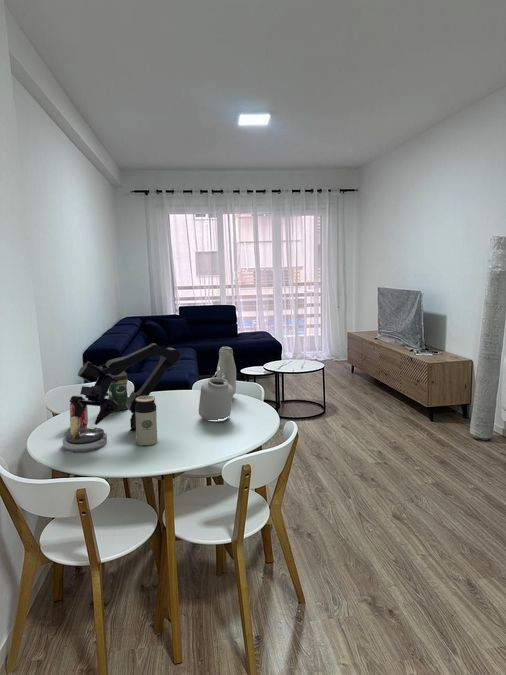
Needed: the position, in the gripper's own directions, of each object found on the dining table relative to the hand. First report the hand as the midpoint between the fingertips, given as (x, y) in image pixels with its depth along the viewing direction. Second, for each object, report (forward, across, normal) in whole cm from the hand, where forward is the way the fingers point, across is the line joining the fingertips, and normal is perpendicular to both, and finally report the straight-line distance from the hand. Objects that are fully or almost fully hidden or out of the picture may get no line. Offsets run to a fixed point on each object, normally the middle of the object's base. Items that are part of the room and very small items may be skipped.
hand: (85, 423), depth 167 cm
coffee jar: (-25, -15, +39) cm, 49 cm away
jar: (-24, +37, +38) cm, 58 cm away
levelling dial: (+3, -2, +5) cm, 7 cm away
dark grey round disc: (+6, -2, +8) cm, 9 cm away
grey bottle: (-49, +29, +63) cm, 85 cm away
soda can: (-6, -17, +20) cm, 27 cm away
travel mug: (-1, +20, +14) cm, 25 cm away
